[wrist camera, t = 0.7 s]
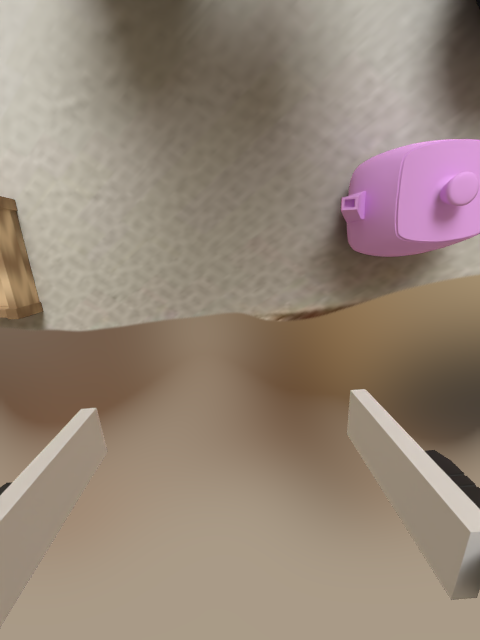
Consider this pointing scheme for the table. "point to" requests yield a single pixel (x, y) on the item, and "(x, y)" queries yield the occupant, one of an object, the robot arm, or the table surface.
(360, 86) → the table surface
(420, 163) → the teapot
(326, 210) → the table surface
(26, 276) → the crate
